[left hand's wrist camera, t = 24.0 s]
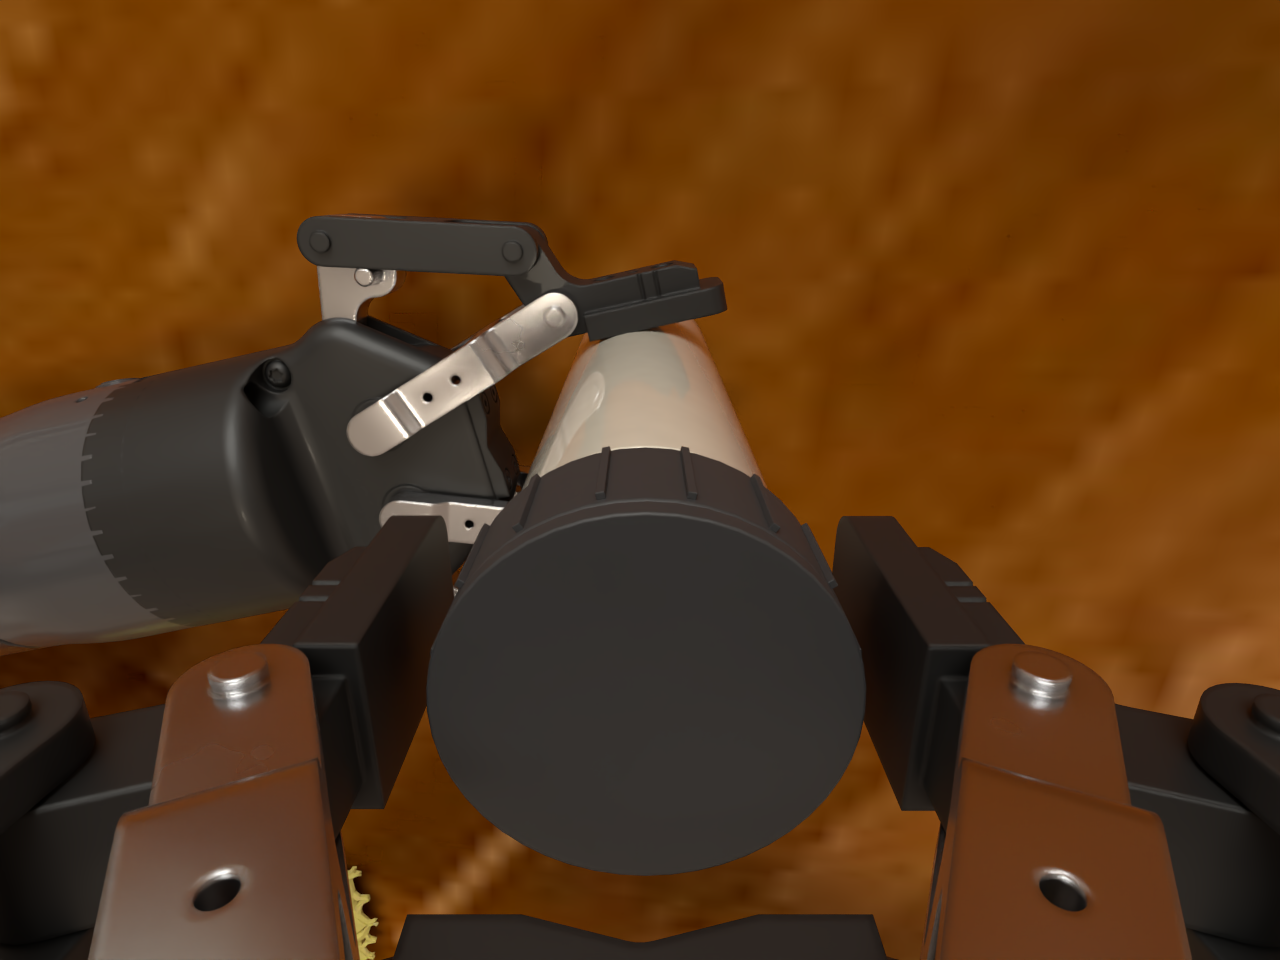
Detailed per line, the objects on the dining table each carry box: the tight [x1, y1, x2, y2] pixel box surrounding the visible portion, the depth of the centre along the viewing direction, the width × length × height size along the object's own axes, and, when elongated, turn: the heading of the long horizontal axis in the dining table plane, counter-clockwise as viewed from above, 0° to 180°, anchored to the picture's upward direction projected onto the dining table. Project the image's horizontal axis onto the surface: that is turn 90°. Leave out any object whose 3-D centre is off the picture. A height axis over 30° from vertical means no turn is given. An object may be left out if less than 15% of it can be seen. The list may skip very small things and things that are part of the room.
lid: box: [426, 446, 866, 876], centre depth 10 cm, size 5×5×2 cm
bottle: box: [521, 319, 767, 491], centre depth 18 cm, size 5×5×19 cm
